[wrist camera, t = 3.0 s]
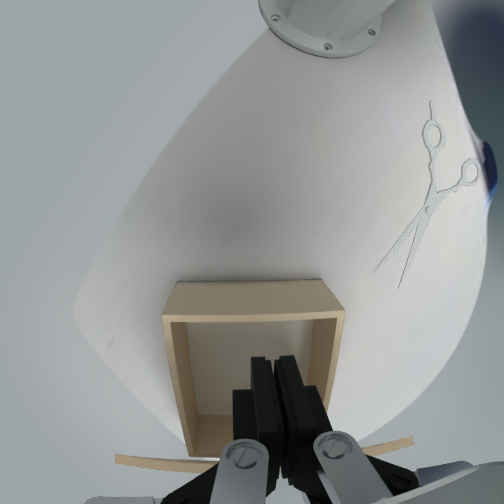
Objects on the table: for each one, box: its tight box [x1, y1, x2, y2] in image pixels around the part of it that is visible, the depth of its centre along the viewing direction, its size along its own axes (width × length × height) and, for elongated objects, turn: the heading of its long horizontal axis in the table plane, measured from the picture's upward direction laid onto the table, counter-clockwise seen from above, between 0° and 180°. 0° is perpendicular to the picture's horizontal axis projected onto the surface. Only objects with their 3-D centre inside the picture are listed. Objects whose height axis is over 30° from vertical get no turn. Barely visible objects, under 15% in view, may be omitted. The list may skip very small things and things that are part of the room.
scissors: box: [372, 101, 481, 286], centre depth 28 cm, size 11×1×20 cm
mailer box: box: [162, 279, 345, 458], centre depth 28 cm, size 18×14×7 cm
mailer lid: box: [115, 436, 414, 473], centre depth 19 cm, size 20×15×1 cm
